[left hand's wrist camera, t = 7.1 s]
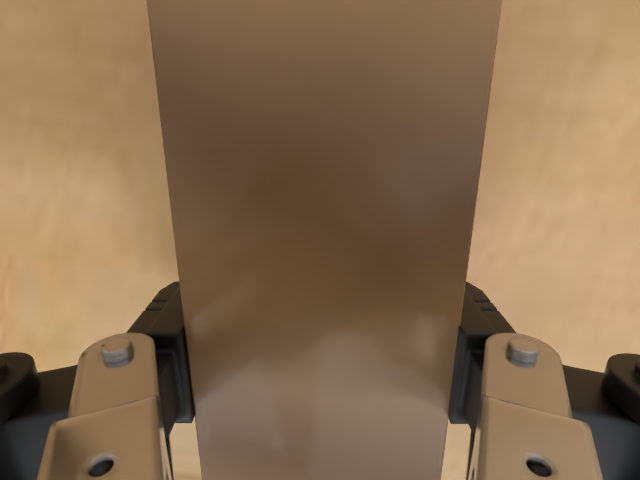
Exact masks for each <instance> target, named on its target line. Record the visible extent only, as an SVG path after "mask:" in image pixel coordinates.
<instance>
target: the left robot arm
mask: <svg viewBox="0 0 640 480" xmlns="http://www.w3.org/2000/svg"><path fill="white" fill-rule="evenodd" d="M194 416H195V413H194V404H193V395H192V387H191V378H190V369H189V361H188V352H187V343H186V335H185V326H184V317H183V309H182V300H181V292H180V283H179V282H173V283H172V284H170V285H168V286H167V287H165V288H163V289H162V290H160V291H159V293H158V294H157V295H156V296H155V298H154V299H153V300H152V302H151V303H150V304H149V305H148V306H147V308H146V311H143V313H142V314H141V315H140V316H139V318H138V319H137V320H136V321H135V323H134V324H133V325H132V326H131V328H130V329H129V330H128V331H127V333H123V334H117V335H113V336H110V337H107V338H104V339H102V340H100V341H98V342H96V343H94V344H93V345H91V346H90V347H88V348H87V349H86V350H85V351H84V352H83V353H82V355H81V356H80V358H79V362H78V365H75V366H70V367H65V368H60V369H55V370H50V371H44V372H39V373H38V372H37V369H36V366H35V362H34V359H33V357H31V356H30V355H28V354H26V353H19V352H12V353H3V354H0V480H175V476H174V467H173V458H172V449H171V442H170V435H169V434H170V432H171V430H172V428H173V425H174V423H192V421H193V419H194ZM448 417H449V420H450V422H451V424H469V426H470V428H471V435H470V441H469V448H468V457H467V466H466V476H465V480H640V355H638V354H627V353H625V354H617V355H614V356H612V357H610V358H609V360H608V362H607V366H606V369H605V372H604V373H600V372H595V371H590V370H585V369H580V368H574V367H570V366H565V365H562V362H561V359H560V356H559V355H558V353H557V352H556V351H555V350H554V349H553V348H552V347H550V346H549V345H547V344H546V343H544V342H542V341H540V340H538V339H536V338H533V337H530V336H527V335H523V334H517V333H516V332H515V331H514V329H513V328H512V327H511V326H510V325H509V323H508V322H507V321H506V320H505V318H504V317H503V316H502V315H501V313H500V312H499V311H497V309H496V307H495V306H494V305H493V304H492V303H490V300H489V299H488V297H487V296H486V295H485V294H484V293H483V291H482V290H480V289H478V288H477V287H475V286H473V285H472V284H470V283H468V282H466V284H465V292H464V300H463V308H462V316H461V323H460V326H459V328H458V336H457V344H456V352H455V360H454V369H453V377H452V385H451V393H450V401H449V409H448Z"/></svg>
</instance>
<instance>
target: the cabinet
mask: <svg viewBox="0 0 640 480" xmlns="http://www.w3.org/2000/svg"><path fill="white" fill-rule="evenodd" d="M501 3H502V0H147V6H148V15H149V24H150V32H151V41H152V50H153V58H154V67H155V75H156V84H157V93H158V101H159V110H160V119H161V127H162V136H163V145H164V153H165V162H166V171H167V179H168V188H169V196H170V205H171V214H172V222H173V231H174V240H175V248H176V257H177V266H178V274H179V283H180V292H181V300H182V309H183V317H184V326H185V335H186V343H187V352H188V361H189V369H190V378H191V387H192V395H193V404H194V413H195V421H196V430H197V439H198V447H199V456H200V464H201V473H202V480H441V472H442V464H443V456H444V449H445V441H446V433H447V425H448V409H449V401H450V393H451V385H452V377H453V369H454V360H455V352H456V344H457V336H458V328H459V326H460V323H461V316H462V308H463V300H464V292H465V284H466V277H467V269H468V261H469V253H470V245H471V237H472V230H473V222H474V214H475V206H476V198H477V191H478V183H479V175H480V167H481V159H482V151H483V144H484V136H485V128H486V120H487V112H488V105H489V97H490V89H491V81H492V73H493V65H494V58H495V50H496V42H497V34H498V26H499V19H500V11H501Z"/></svg>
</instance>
